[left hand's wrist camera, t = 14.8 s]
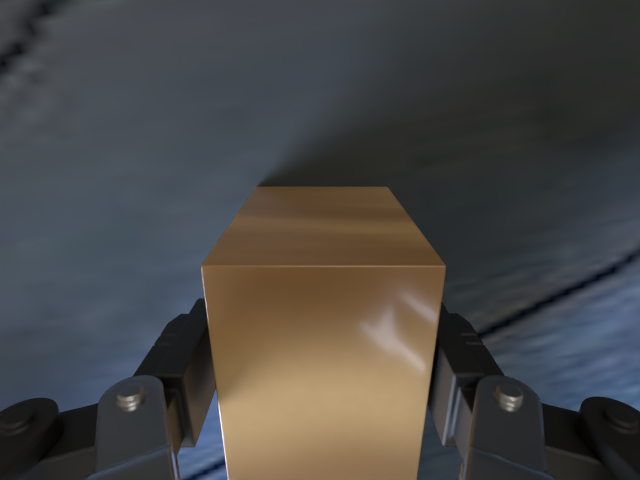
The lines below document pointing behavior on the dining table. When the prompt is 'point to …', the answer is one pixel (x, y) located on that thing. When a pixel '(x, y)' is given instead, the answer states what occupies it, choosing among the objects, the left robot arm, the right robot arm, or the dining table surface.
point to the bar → (322, 334)
